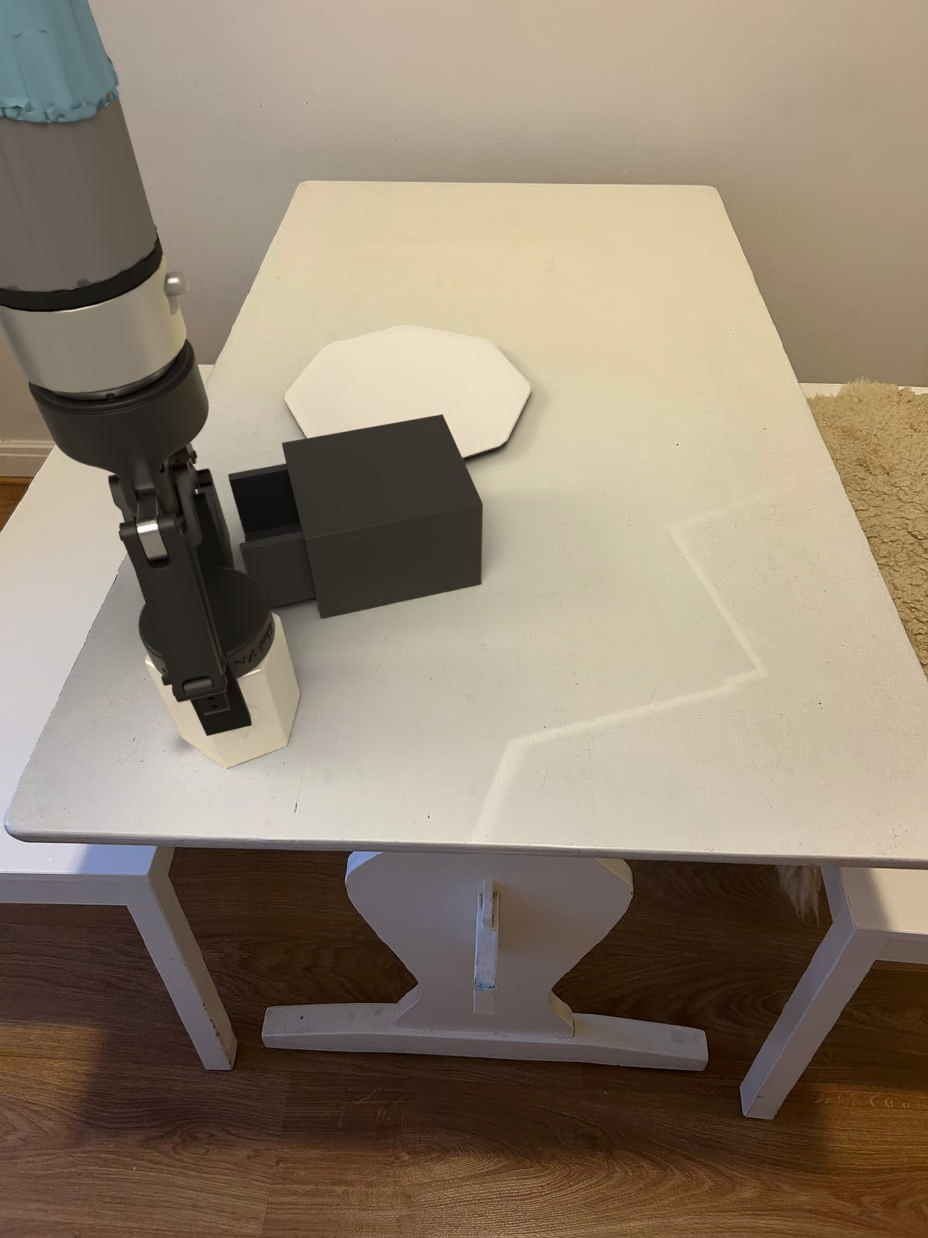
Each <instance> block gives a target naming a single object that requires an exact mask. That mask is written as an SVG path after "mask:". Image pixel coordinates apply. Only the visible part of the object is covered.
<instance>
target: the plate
mask: <svg viewBox="0 0 928 1238" xmlns="http://www.w3.org/2000/svg"><path fill="white" fill-rule="evenodd" d="M531 394H532V387H531V383H530V382H529V381H528V380H527V379H526V378H525V377H524V376H523V374H522V373H521V372H520V371H519V370H518V369H517V368H516V367H515V366H514V364H513V363H511V361H509V359H508V358H507V357H506V356H505V355H504V354H503V352H501V350H499V348H498V347H497V346H496V344H494V343H493V342H492V341H490V340H488V339H487V338H485V337H484V338H483V337H479V336H473V335H469V334H463V333H457V332H452V331H447V330H441V329H435V328H430V327H425V326H419V325H416V324H415V325H414V324H400V325H396V326H392V327H389V328H385V329H381V330H377V331H373V332H369V333H366V334H361V335H358V336H353V337H350V338H347V339H342V340H339V341H335V342H331V343H329V344H327V345H325V346H323V347H321V348H320V349H319V351H318V352H317V353H316V355H315V356H314V357H313V358H312V359H311V361H310V362H308V364H307V365H306V367H305V368H304V369H303V371H302V372H301V373H300V374H299V376H298V377H297V378H296V379H295V381H294V382H293V383H292V384H291V385H290V387H289V388H288V389H287V390H286V391H285V394H284V403H285V405H286V406H287V408H288V409H289V411H290V414H292V416H293V418H294V420H295V421H296V423H297V425H298V427H299V428H300V430H301V431H302V433H303V435H304V437H305V439H306V438H312V437H317V436H323V435H328V434H334V433H340V432H345V431H351V430H357V429H362V428H368V427H374V426H379V425H385V424H391V423H396V422H402V421H407V420H413V419H419V418H424V417H430V416H436V415H441V414H443V416H444V418H445V420H446V423H447V425H448V427H449V429H450V432H451V434H452V436H453V438H454V440H455V443H456V445H457V447H458V449H459V452H460V454H461V456H462V458H463V460H465V459H468V458H469V459H470V458H471V457H475V456H478V455H481V454H485V453H487V452H490V451H494V450H497V449H499V448H501V447H503V446H504V445H505V444H506V443H507V442H508V440H509V439H510V437H511V435H512V432H513V430H514V429H515V426H516V424H517V422H518V420H519V418H520V417H521V414H522V412H523V410H524V408H525V405H526V404H527V402H528V400H529V397H531Z"/></svg>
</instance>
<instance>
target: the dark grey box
mask: <svg viewBox="0 0 928 1238" xmlns="http://www.w3.org/2000/svg"><path fill="white" fill-rule="evenodd" d="M281 447H282V451H283V456H284V461H285V464H287V468H288V473H289V477H290V481H291V485H292V490H293V494H294V498H295V502H296V507H297V511H298V515H299V519H300V523H301V528H302V532H303V536H304V540H305V545H306V550H307V555H308V560H309V565H310V569H311V574H312V579H313V584H314V589H315V593H316V598H315V600H316V603H317V609H318V612H319V617H320V619H321V620H323V619H327V618H332V617H337V616H341V615H346V614H350V613H355V612H360V611H364V610H369V609H373V608H374V609H375V608H378V607H383V606H387V605H391V604H392V605H393V604H396V603H401V602H406V601H410V600H411V601H412V600H415V599H420V598H424V597H429V596H433V595H434V596H435V595H438V594H442V593H447V592H453V591H456V590H461V589H466V588H470V587H476V586H479V585H481V584H482V563H483V562H482V561H483V518H484V517H483V515H484V503H483V501H482V499H481V497H480V494H479V492H478V490H477V487H476V486H475V483H474V481H473V479H472V476H471V474H470V471H469V469H468V467H467V465H466V463H465V461H464V459H463V458H462V456H461V454H460V452H459V449H458V447H457V445H456V443H455V440H454V438H453V436H452V434H451V432H450V429H449V427H448V425H447V423H446V420H445V418H444V416H443V414H441V415H436V416H430V417H424V418H419V419H413V420H407V421H402V422H396V423H391V424H385V425H379V426H374V427H368V428H362V429H357V430H351V431H345V432H340V433H334V434H328V435H323V436H317V437H312V438H306V437H305V438H300V439H296V440H290V441H289V440H288V441H285V442H281Z"/></svg>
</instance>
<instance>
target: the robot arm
mask: <svg viewBox="0 0 928 1238" xmlns="http://www.w3.org/2000/svg"><path fill="white" fill-rule="evenodd" d="M119 85H120V82H119V77H118V74H117V71H116V69H115V66H114V63H113V61H112V59H111V57H110V56H109V54H108V53H107V52H106V49H105V46H104V43H103V40H102V38H101V35H100V32H99V28H98V25H97V23H96V21H95V17H94V14H93V12H92V9H91V6H90V4H89V0H0V333H1V335H2V338H3V340H4V341H5V344H6V346H7V348H8V351H9V352H10V354H11V356H12V358H13V361H14V363H15V365H16V367H17V369H18V371H19V373H20V375H21V376H22V377H24V378H25V379H26V380H27V381H28V389H29V392H30V394H31V396H32V398H33V401H34V402H35V405H36V406H37V408H38V411H39V413H40V415H41V417H42V420H43V421H44V423H45V425H46V427H47V429H48V431H49V434H50V436H51V437H52V440H53V441H54V444H55V445H56V447H57V448H58V449H59V450H60V451H61V453H63V454H64V455H65V456H66V457H68V458H69V459H71V460H73V461H75V462H77V463H78V464H79V463H80V464H82V465H85V466H89V467H93V468H97V469H101V470H104V471H107V472H109V473H112V474H109V475H108V476H107V481H108V486H109V490H110V493H111V498H112V501H113V503H114V506H116V508H117V509H119V510H120V512H121V514H122V518H123V521H122V522H120V523H119V525H118V528H119V530H118V537H119V539H120V541H121V542H122V543H123V546H124V548H125V550H126V553H127V555H128V557H129V560H130V562H131V564H132V567H133V569H134V572H135V575H136V578H137V581H138V584H139V587H140V591H141V593H142V597H143V601H144V604H145V603H146V606H147V610H148V613H149V616H150V619H151V622H152V625H153V628H154V631H155V635H156V638H157V641H158V644H159V647H160V650H161V653H162V656H163V660H164V663H165V666H166V669H167V672H166V673H164V674H163V675H162V677H161V679H162V682H163V684H164V686H167V685H172V693H173V696H174V697H175V698H176V701H177V702H178V703H180V702H184V701H188V700H190V701H191V703H192V705H193V708H194V710H195V712H196V714H197V716H198V718H199V720H200V723H201V725H202V727H203V729H204V731H205V733H206V736H210V735H214V734H218V733H223V732H227V731H231V730H235V729H239V728H243V727H247V726H251V725H252V722H251V715H250V713H249V710H248V707H247V705H246V702H245V699H244V697H243V694H242V691H241V689H240V686H239V684H238V681H237V678H236V676H235V673H234V670H233V668H232V665H231V662H230V660H229V657H228V654H227V652H226V650H224V651H221V647H220V643H219V639H218V635H217V631H216V627H215V624H214V620H213V616H212V612H211V608H210V604H209V600H208V596H207V592H206V588H205V584H204V580H203V576H202V572H201V568H205V567H226V568H228V561H227V558H226V555H225V552H224V549H223V546H222V543H221V540H220V537H219V534H218V531H217V528H216V525H215V522H214V519H213V516H212V513H211V510H210V507H209V504H208V501H207V498H206V495H205V492H203V493H198V492H197V489H201V488H206V487H211V486H213V482H212V478H213V477H212V478H211V475H212V473H211V474H210V471H211V470H210V469H209V467H208V468H207V467H206V468H202V469H196V467H195V466H194V465H196V464H197V458H198V455H197V450H195V449H194V448H193V445H192V442H193V440H195V438H196V437H197V436H198V435H199V434H200V433H201V431H202V429H203V428H204V427H205V424H206V422H207V420H208V417H209V410H210V403H209V398H208V394H207V391H206V387H205V384H204V380H203V378H202V374H201V370H200V368H199V364H198V361H197V357H196V354H195V350H194V347H193V346H192V344H191V342H190V341H189V340H188V339H187V328H186V324H185V321H184V317H183V314H182V310H181V307H180V303H179V300H178V298H177V297H178V296H182V295H185V294H187V293H188V291H189V289H190V285H189V281H188V278H187V277H186V275H185V274H184V273H183V272H182V270H181V271H178V270H174V271H169V272H167V267H168V266H167V260H166V257H165V253H164V251H163V246H162V243H161V240H160V236H159V233H158V231H157V230H158V228H157V226H156V224H155V223H154V219H153V215H152V212H151V208H150V205H149V201H148V197H147V194H146V191H145V186H144V183H143V179H142V175H141V172H140V168H139V165H138V161H137V158H136V154H135V151H134V146H133V143H132V140H131V139H132V138H131V136H130V132H129V129H128V126H127V122H126V121H127V120H126V118H125V114H124V111H123V107H122V104H121V100H120V96H119V95H120V91H119V90H118V88H117V87H118V86H119ZM209 470H210V471H209Z"/></svg>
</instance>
